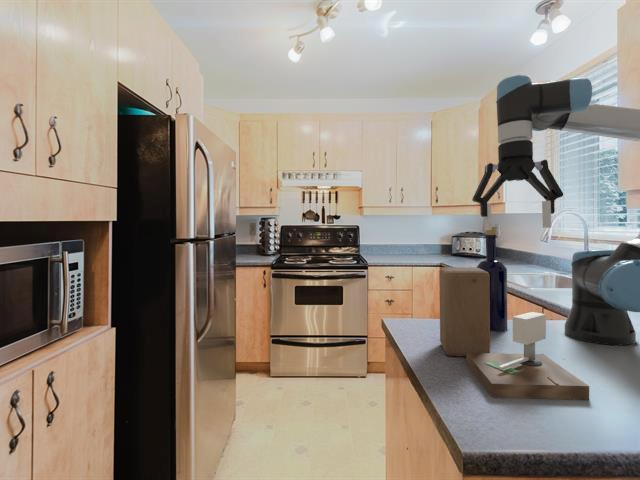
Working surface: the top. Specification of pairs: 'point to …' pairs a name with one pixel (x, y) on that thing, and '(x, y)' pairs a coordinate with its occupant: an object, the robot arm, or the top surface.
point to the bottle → (495, 284)
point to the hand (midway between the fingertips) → (517, 228)
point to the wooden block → (464, 310)
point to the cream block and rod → (527, 335)
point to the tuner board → (526, 377)
